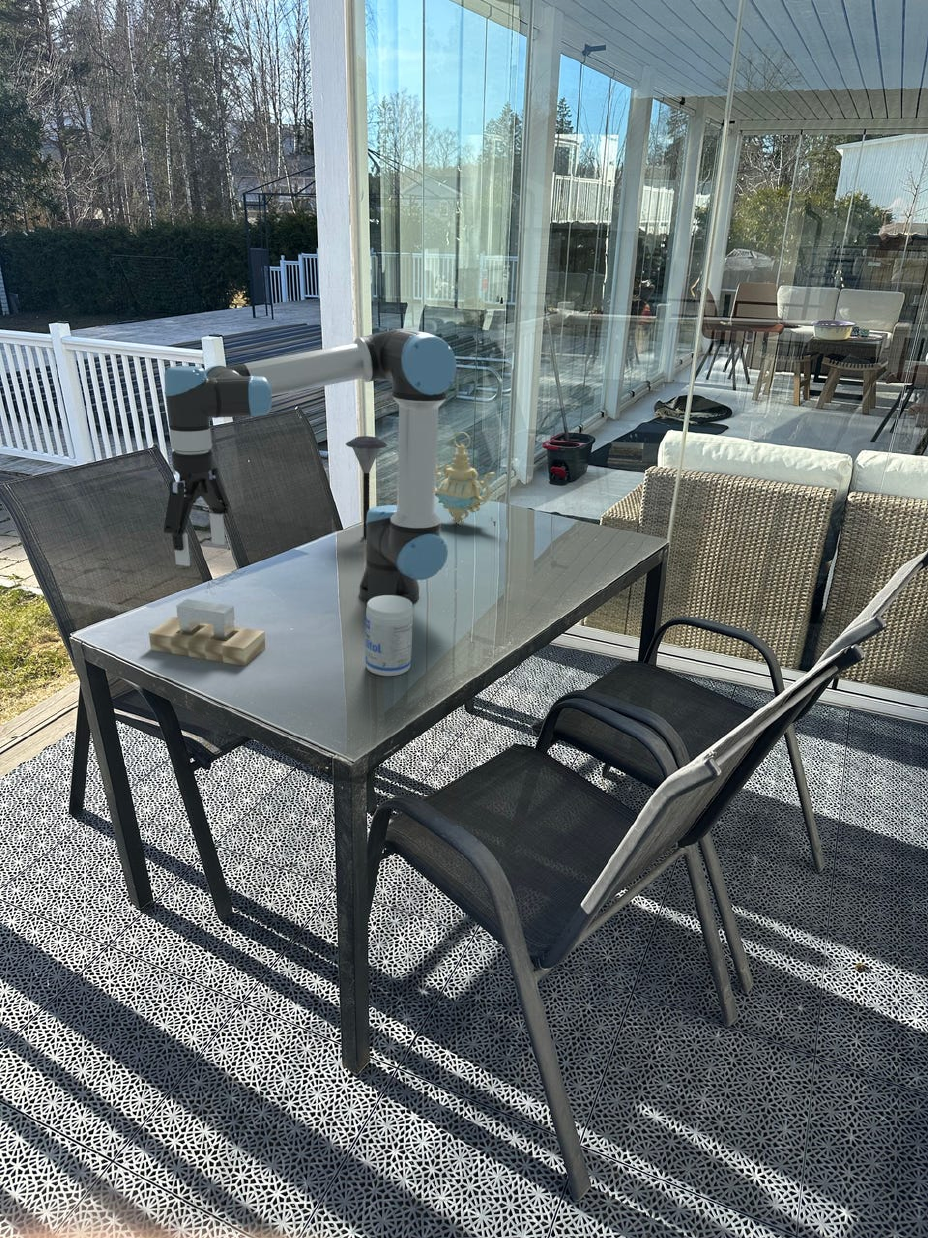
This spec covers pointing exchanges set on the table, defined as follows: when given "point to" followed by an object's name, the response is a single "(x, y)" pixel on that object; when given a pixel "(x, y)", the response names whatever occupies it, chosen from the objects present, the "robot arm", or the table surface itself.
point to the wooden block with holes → (208, 643)
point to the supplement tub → (388, 635)
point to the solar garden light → (366, 465)
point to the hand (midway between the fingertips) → (201, 553)
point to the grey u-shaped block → (206, 618)
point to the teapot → (461, 486)
